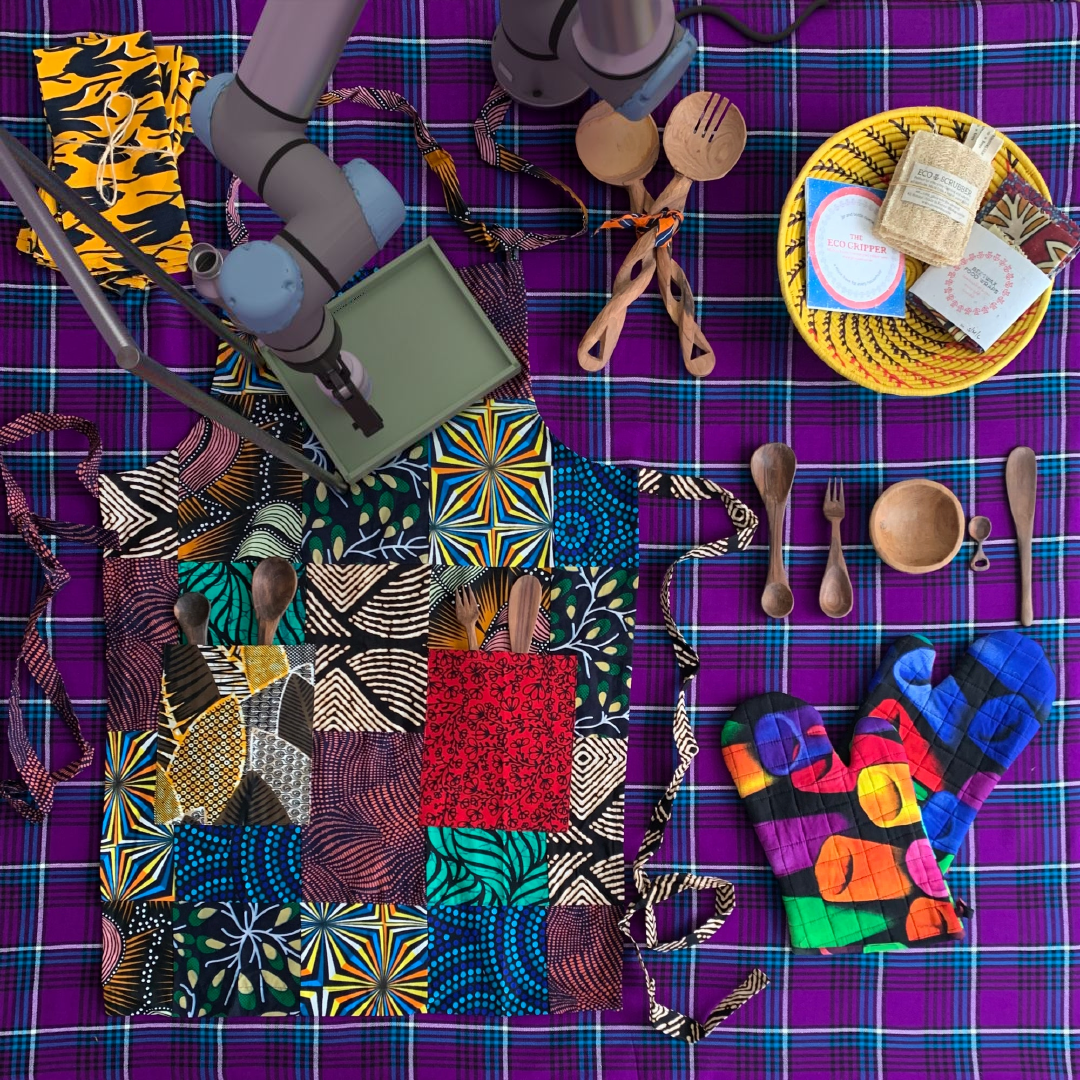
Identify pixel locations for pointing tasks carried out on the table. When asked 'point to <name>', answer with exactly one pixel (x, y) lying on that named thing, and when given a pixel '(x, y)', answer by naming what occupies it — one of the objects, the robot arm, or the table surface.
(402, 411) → the platform cart
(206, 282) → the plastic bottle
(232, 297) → the robot arm
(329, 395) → the pill bottle
